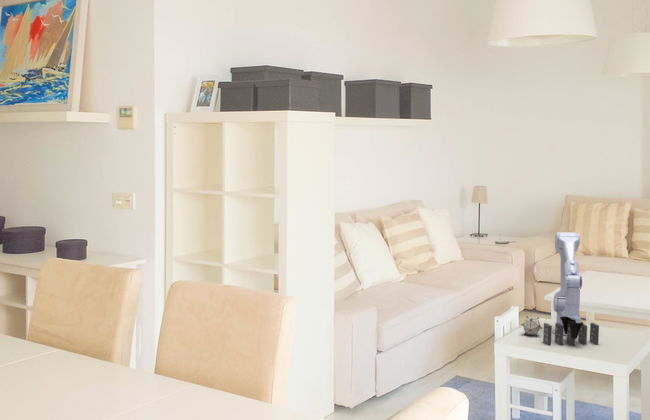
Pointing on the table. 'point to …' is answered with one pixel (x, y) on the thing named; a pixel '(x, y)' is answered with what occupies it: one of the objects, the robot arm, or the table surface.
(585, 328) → the domino
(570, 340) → the domino
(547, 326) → the domino
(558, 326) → the domino
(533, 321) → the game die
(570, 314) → the robot arm
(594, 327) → the domino
